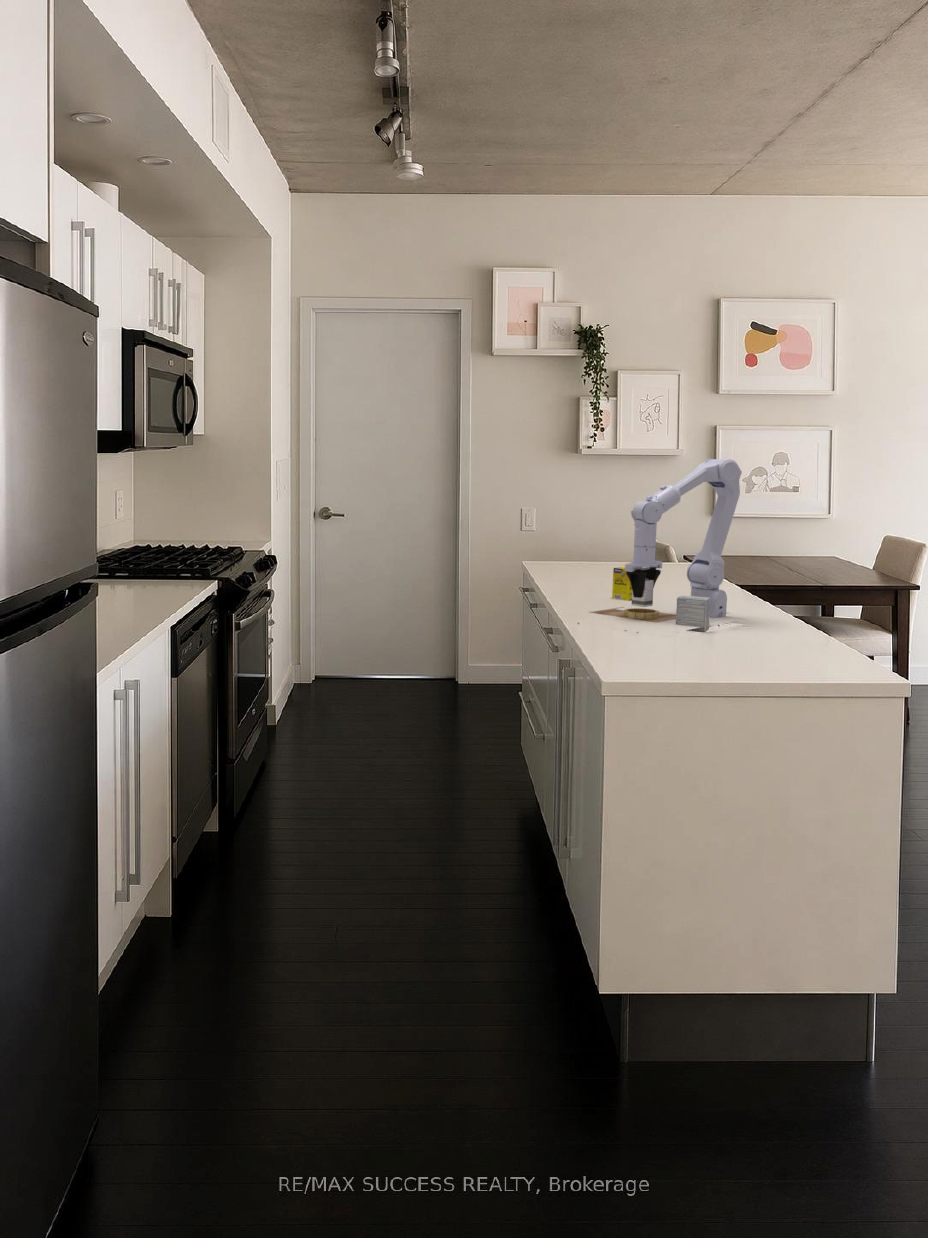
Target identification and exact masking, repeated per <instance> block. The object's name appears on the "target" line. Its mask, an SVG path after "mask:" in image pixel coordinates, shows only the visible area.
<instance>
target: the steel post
mask: <svg viewBox="0 0 928 1238" xmlns="http://www.w3.org/2000/svg"><path fill="white" fill-rule="evenodd" d="M653 585H654V580H650V579H649V578H647V577H646V578H645V581H644V585H643V593H642V597H641V598H637V597H634V596H633V591H632V600H631V606H632V607H639V608H640V607H641V608H646V607H652V606H653V605H654V604H653V602H654V588H653ZM654 586H655V585H654Z"/></svg>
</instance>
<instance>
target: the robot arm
mask: <svg viewBox="0 0 928 1238" xmlns="http://www.w3.org/2000/svg"><path fill="white" fill-rule="evenodd" d="M741 477H742V469H741V468H740V467H739V464H738V463H737V462H736V460H734V459H730V458H729V459H715V458H708V459H706V460H705V461H703V462H702V463H699V464H698V465H697V467H696V468H695V469H693V470H692V471H691V472H689V473H688V474H686V476H684V477H683V478H682V479H681V480H679V481H678V482H676V483H675V484H674V485H671V484H667V485H665V484H663V485H661V486H660V487H659V490H657V491H656V492H655V493H654V494H652V495H647V497H646V499H645V500H640V501H638V502H636V504H634V506H633V507H632V510H631V511H630V513H631V514H630V515H631V518H632V519H633V521H634V538H633V540H634V541H633V542H634V543H633V544H634V545H633V560H632V561H631V562H629V563H625V565H624V566H625V571H626V574H627V576H628V578H629V580H630V583H631V586H632V591H633V596H634V597H637V598H641V597H642V593H643V585H644V581H645V578H646V577H647V578H649V579H650V580H654V585H653V589H654V588H655V585H656V583H657V580H658V578H659V577H660V575H661V573H662V570H661V569H662V568H663V561H662V560H656V545H657V544H656V543H657V528H658V527H657V526H658V525H657V523H658V522H660V520H661V519H662V516H663V514H665V513H666V512H668V511H669V510H670V509H672V508H674V507H675V506H676V505H678V504H679V503H680V502H681V497H682V496H683V495H685V494H686V493H688V492H690V491H692V490H693V489H695V488H696V487H698V486H700V485H701V484H703V483H708V485H710V486H711V488H713V489H714V491H715V493H716V494H717V498H716V502H715V504H714V505H715V506H714V509H713V511H712V516H711V518H710V522H709V524H708V527H707V531H706V535H705V537H704V540H703V544H702V548H701V550H700V551H699V552H698V553H696V554H695V555H694V556H693V559H692V562H691V563H690V564H689V565H688V567H687V570H686V577H687V580H688V581H689V582H690V596H696V597H707V598H710V614H709V618H714V619H715V618H723V617H727V604H728V603H727V602H728V597H727V596H728V595H727V593H726V591H725V590H723V589H720V586H721V585H722V584H723V581H724V579H725V571H724V570H725V566H726V563H725V561H724V559H723V557H722V553H723V552H724V551H723V550H724V547H725V544H726V540H727V539H728V536H729V535H728V533H729V532H730V528H731V525H732V522H733V519H734V514H735V511H736V509H737V505H738V501H739V500H740V499H739V498H740V496H741V486H740V479H741Z"/></svg>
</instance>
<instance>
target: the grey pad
mask: <svg viewBox="0 0 928 1238" xmlns="http://www.w3.org/2000/svg"><path fill="white" fill-rule="evenodd" d="M624 607H625V606H624ZM617 608H618V609H614V610H615V611H622V612H624V610H625V609H631V608H635V606H626V607H625V608H620V607H617Z"/></svg>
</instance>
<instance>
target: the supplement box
mask: <svg viewBox="0 0 928 1238" xmlns="http://www.w3.org/2000/svg"><path fill="white" fill-rule="evenodd" d="M612 573H613V574H612V591H611V599H612V600H618V601H619V600H620V601H627V602H628V601H632V586H631V583H630V580H629V578H628V576H627V574H626V571H625V565H622V566H619V567H618V566H617V567H613V571H612Z"/></svg>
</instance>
